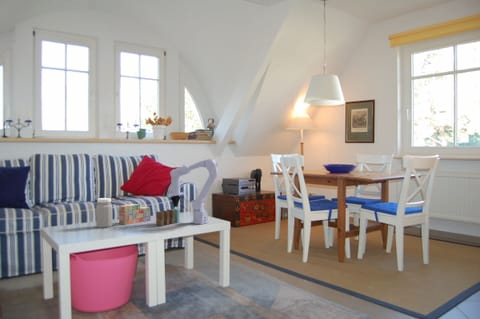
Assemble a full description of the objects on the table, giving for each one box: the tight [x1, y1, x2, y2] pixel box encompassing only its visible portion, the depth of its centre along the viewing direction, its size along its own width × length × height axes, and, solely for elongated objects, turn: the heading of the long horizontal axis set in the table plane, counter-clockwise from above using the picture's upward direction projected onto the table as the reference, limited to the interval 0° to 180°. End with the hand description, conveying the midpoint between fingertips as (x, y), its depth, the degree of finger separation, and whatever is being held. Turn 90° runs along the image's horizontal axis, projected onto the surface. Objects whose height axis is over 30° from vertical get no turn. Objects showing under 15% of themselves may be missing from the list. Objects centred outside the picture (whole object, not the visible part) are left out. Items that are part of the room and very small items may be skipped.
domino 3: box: [166, 209, 175, 225], centre depth 259 cm, size 2×5×9 cm, turn 58°
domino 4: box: [171, 208, 180, 224], centre depth 264 cm, size 2×5×9 cm, turn 58°
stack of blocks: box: [118, 203, 151, 226], centre depth 264 cm, size 21×6×12 cm, turn 143°
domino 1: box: [155, 211, 165, 227], centre depth 251 cm, size 2×5×9 cm, turn 58°
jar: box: [95, 197, 114, 229], centre depth 247 cm, size 10×10×18 cm
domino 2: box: [161, 210, 170, 226], centre depth 255 cm, size 2×5×9 cm, turn 58°
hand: (175, 206), depth 264 cm, fingers closed
